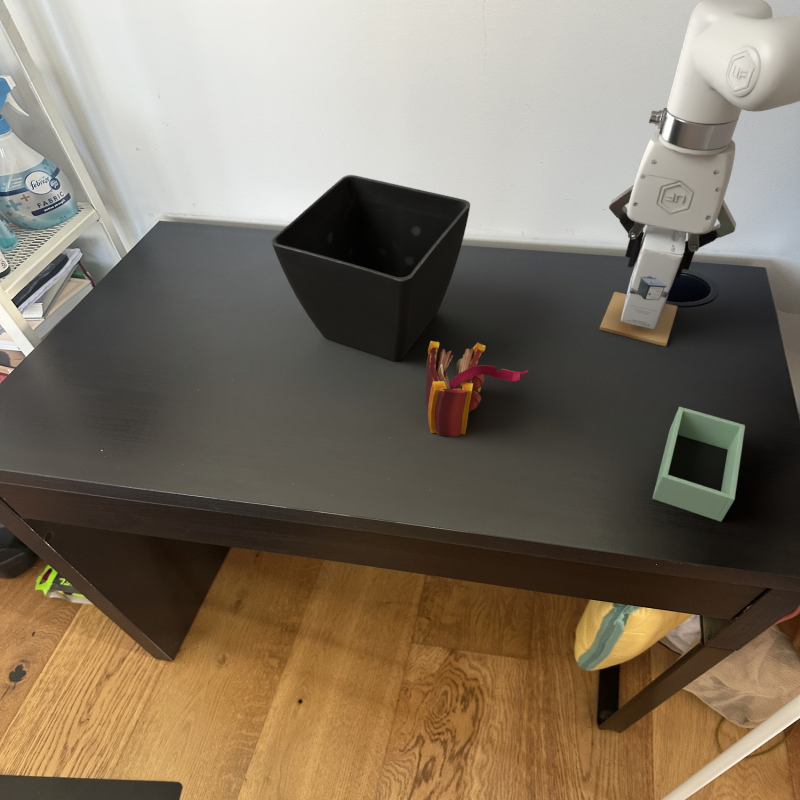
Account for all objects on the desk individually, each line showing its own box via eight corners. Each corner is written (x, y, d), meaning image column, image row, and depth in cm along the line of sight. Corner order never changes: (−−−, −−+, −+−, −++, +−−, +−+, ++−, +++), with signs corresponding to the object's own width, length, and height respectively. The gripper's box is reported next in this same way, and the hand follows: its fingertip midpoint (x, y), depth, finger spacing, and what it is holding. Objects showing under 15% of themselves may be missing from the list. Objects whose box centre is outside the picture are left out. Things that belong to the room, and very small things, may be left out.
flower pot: (410, 387, 81) (407, 278, 69) (289, 346, 87) (266, 240, 75) (467, 305, 92) (473, 200, 80) (356, 275, 99) (346, 173, 87)
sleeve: (732, 448, 72) (745, 425, 69) (721, 522, 65) (734, 499, 62) (669, 429, 74) (679, 406, 72) (652, 498, 68) (662, 476, 65)
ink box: (627, 287, 91) (648, 214, 82) (664, 294, 89) (688, 220, 81) (619, 323, 85) (640, 248, 77) (658, 330, 84) (684, 255, 75)
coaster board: (676, 309, 90) (677, 306, 90) (665, 346, 85) (666, 343, 84) (613, 294, 93) (614, 291, 93) (599, 329, 88) (600, 326, 87)
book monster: (427, 380, 81) (519, 398, 79) (411, 432, 75) (510, 453, 74) (431, 317, 73) (534, 335, 72) (414, 370, 67) (525, 391, 66)
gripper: (611, 129, 70) (583, 267, 83) (779, 154, 64) (720, 298, 77) (626, 105, 75) (597, 239, 88) (783, 126, 69) (727, 266, 82)
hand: (655, 265), depth 82 cm, fingers closed on ink box, 5 cm apart
